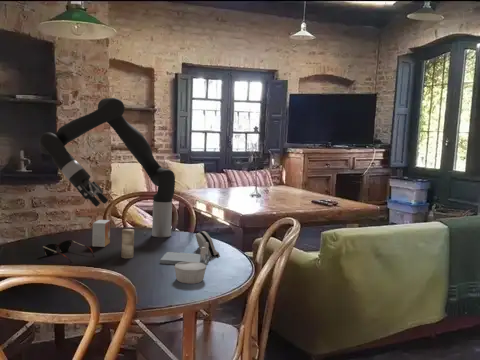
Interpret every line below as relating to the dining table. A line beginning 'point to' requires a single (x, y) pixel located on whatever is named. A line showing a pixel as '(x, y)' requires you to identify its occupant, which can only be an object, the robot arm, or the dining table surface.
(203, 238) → the grey half-round upright piece
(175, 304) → the dining table surface
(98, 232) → the small box
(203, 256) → the pad
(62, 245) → the sunglasses
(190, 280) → the ramekin
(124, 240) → the birch pin
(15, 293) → the dining table surface
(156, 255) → the dining table surface
